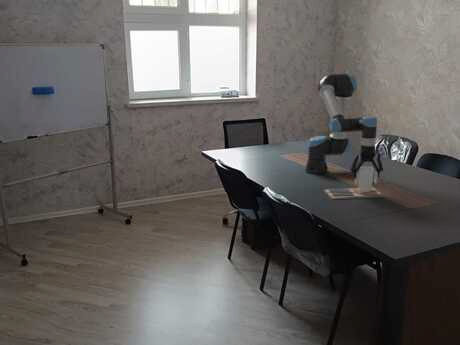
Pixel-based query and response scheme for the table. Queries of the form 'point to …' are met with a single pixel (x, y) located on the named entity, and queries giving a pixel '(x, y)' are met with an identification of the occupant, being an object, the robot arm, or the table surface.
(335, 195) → the sorting board
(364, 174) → the foam cup
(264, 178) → the table surface
